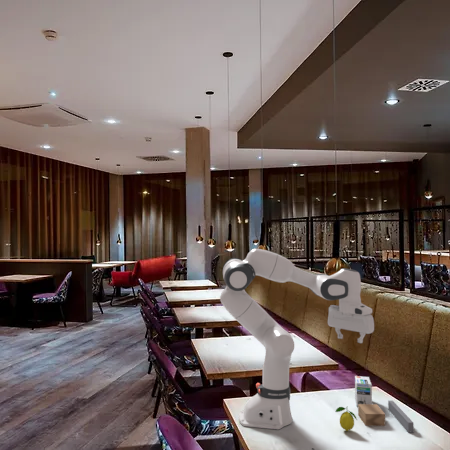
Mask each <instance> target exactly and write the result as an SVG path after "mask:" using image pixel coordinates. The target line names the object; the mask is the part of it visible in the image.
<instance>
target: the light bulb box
mask: <svg viewBox="0 0 450 450" xmlns="http://www.w3.org/2000/svg"><path fill="white" fill-rule="evenodd" d="M354 399H355V404H356V407H357V408H358V404H373V384H372V382H371V379H370V376H361V375H359V376H358V375H354Z"/></svg>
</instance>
